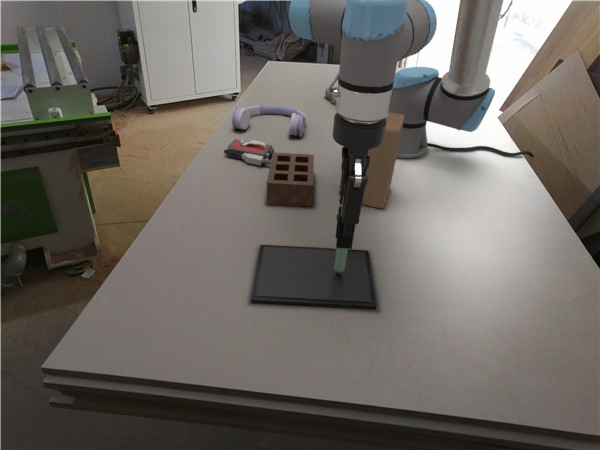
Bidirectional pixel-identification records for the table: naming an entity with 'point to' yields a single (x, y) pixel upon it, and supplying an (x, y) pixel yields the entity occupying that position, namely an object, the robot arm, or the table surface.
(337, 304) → the tablet
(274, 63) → the table surface
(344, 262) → the stylus
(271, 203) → the pen block
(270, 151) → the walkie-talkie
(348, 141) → the robot arm
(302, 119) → the headphones
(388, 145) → the wooden block
